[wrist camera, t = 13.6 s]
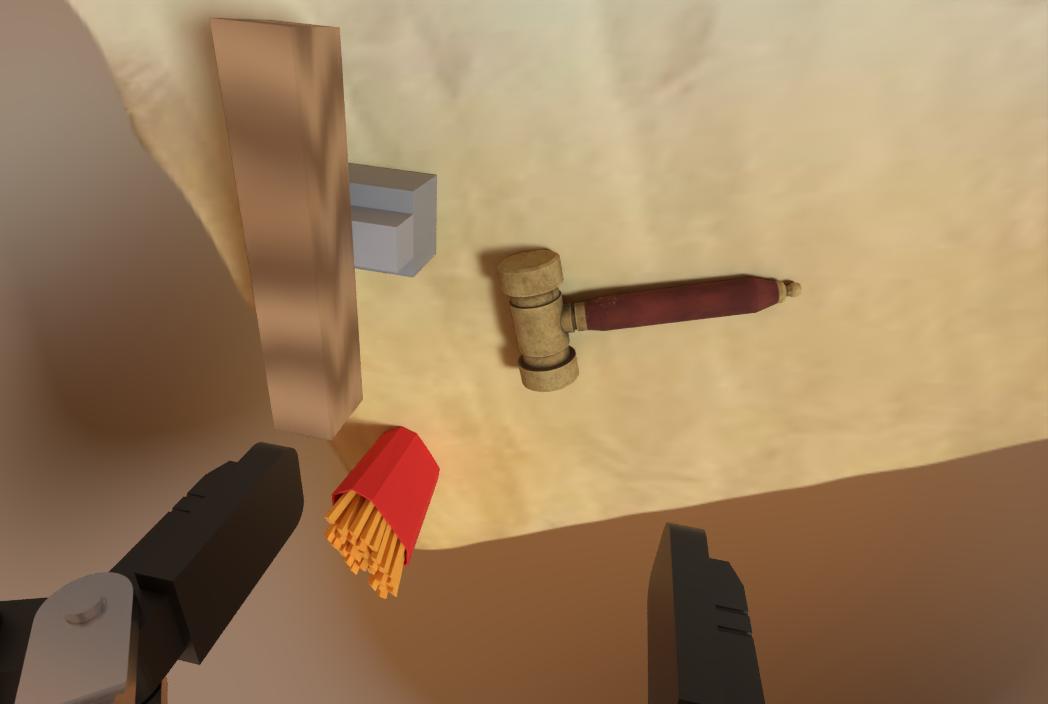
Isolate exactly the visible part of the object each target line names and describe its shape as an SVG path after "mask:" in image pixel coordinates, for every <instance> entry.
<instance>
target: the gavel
mask: <svg viewBox="0 0 1048 704" xmlns="http://www.w3.org/2000/svg"><path fill="white" fill-rule="evenodd" d="M497 269H498V274H499V278H500V283H501V287H502V291H503V293H504V294H506V295H508V296H510V301H509V304H510V309H511V314H512V318H513V323H514V327H515V332H516V337H517V341H518V346H519V350H520V352H521V353H522V355H521V356H520V357H519V359H518V365H519V369H520V374H521V379H522V383H523V385H524V386H525V387H526V388H528V389H530V390H533V391H539V392H550V391H555V390H559V389H562V388H564V387H566V386H568V385H570V384H571V383H573V382H574V381H575V380H576V379H577V377H578V375H579V370H578V364H577V358H576V352H575V350H574V348H573V347H571V346H569V342H570V341H569V334H568V333H570V332H574V331H575V330H576V329H577V330H578V331H584V330H600V331H607V330H615V329H623V328H632V327H640V326H648V325H657V324H665V323H673V322H681V321H690V320H698V319H706V318H715V317H723V316H731V315H740V314H748V313H756V312H759V311H761V310H763V309H765V308H768V307H770V306H772V305H774V304H776V303H782V302H783V301H785V298H786V296H790V297H796V296H799V295H800V294H801V291H802V288H801V285H800V284H799V283H790V284H789V285H785V284H784V283H783V282H782V281H772V280H766V279H761V278H755V277H749V278H741V279H734V280H726V281H718V282H711V283H703V284H695V285H688V286H680V287H673V288H665V289H657V290H650V291H642V292H634V293H627V294H619V295H611V296H604V297H599V298H596V299H592V300H589V301H586V302H579V303H575V305H571V303H569V304H563V299H562V293H561V291H560V290H559V288H558V286H560V285H561V284H562V282H563V274H562V268H561V262H560V256H559V254H558V253H556V252H553V251H550V250H535V251H527V252H521V253H517V254H514V255H512V256H509V257H507V258H506V259H504V260H503V261H502V262H501V263H500V264H499V265H498V267H497Z"/></svg>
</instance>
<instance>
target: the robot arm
mask: <svg viewBox="0 0 1048 704" xmlns="http://www.w3.org/2000/svg"><path fill="white" fill-rule="evenodd" d="M303 505H304V497H303V490H302V483H301V475H300V468H299V461H298V455H297V452H296V450H295V449H293V448H289V447H284V446H279V445H274V444H268V443H263V442H259V443H257V444H255V445H254V446H253V447H252V448H251V449H250V450H249V451H248V452H247V453H246V454H245V455H244V456H243V457H242V458H241V459H240V460H239V461H238V462H233V461H229V462H227V463H225V464H223V465H221V466H220V467H218V468H216V469H215V470H213V471H211V472H210V473H208V474H206V475H205V476H204V477H203V478H202V479H201V480H200V481H199V482H198V483H197V484H196V485H195V486H194V487H193V488H192V489H191V490H190V491H189V492H188V493H187V496H186V497H183V498H182V499H181V500H180V501H179V502H178V503H177V504H176V505H175V506H174V507H173V509H172V512H168V513H167V514H166V515H165V516H164V517H163V518H162V519H161V520H160V521H159V522H158V523H157V524H156V525H155V526H154V527H153V528H152V529H151V530H150V531H149V532H148V533H147V534H146V535H145V536H144V537H143V538H142V539H141V540H140V541H139V542H138V544H136V545H135V546H134V547H133V548H132V549H131V550H130V551H129V552H128V553H127V554H126V555H125V556H124V557H123V558H122V560H120V561H119V562H118V564H116V566H114V567H113V568H112V569H111V570H110V571H109V572H103V573H95V574H90V575H87V576H84V577H81V578H78V579H76V580H74V581H72V582H70V583H68V584H66V585H64V586H63V587H61V588H60V589H58V590H57V591H56V592H54V593H53V594H52V595H51V596H50V597H48V598H36V599H25V600H24V599H23V600H11V601H0V704H168V682H167V677H166V675H167V673H168V672H169V671H170V669H171V668H172V667H173V665H174V664H175V663H176V661H177V660H182V661H186V662H190V663H194V664H198V665H200V664H201V662H202V661H203V659H204V658H205V657H206V655H207V654H208V653H209V651H210V650H211V648H212V647H213V645H214V644H215V643H216V641H217V640H218V638H219V637H220V635H221V634H222V632H223V631H224V630H225V628H226V627H227V625H228V624H229V622H230V621H231V620H232V618H233V617H234V615H235V614H236V613H237V611H238V610H239V608H240V607H241V605H242V604H243V603H244V601H245V600H246V598H247V597H248V595H249V594H250V593H251V591H252V590H253V588H254V587H255V585H256V584H257V583H258V581H259V580H260V578H261V577H262V575H263V574H264V573H265V571H266V570H267V568H268V567H269V565H270V564H271V563H272V561H273V559H274V558H275V557H276V556H277V554H278V553H279V551H280V550H281V548H282V547H283V546H284V544H285V543H286V541H287V540H288V538H289V537H290V536H291V534H292V533H293V531H294V530H295V528H296V526H297V525H298V523H299V521H300V518H301V515H302V511H303ZM647 603H648V604H647V615H648V616H647V620H648V704H765V700H764V695H763V689H762V684H761V679H760V673H759V668H758V662H757V657H756V651H755V646H754V640H753V638H752V630H751V624H750V618H749V616H748V607H747V602H746V597H745V591H744V586H743V584H742V583H741V581H740V579H739V578H738V576H737V574H736V573H735V571H734V570H733V568H732V566H731V565H730V563H729V562H727V561H722V560H717V559H712V558H709V554H708V546H707V538H706V533H705V531H704V529H699V528H694V527H688V526H683V525H678V524H673V523H666V525H665V527H664V530H663V534H662V537H661V540H660V544H659V547H658V551H657V554H656V558H655V561H654V565H653V568H652V571H651V576H650V581H649V589H648V600H647Z"/></svg>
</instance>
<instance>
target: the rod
mask: <svg viewBox="0 0 1048 704" xmlns="http://www.w3.org/2000/svg"><path fill="white" fill-rule="evenodd" d="M210 24H211V30H212V36H213V43H214V49H215V55H216V62H217V68H218V74H219V80H220V87H221V93H222V99H223V106H224V112H225V118H226V125H227V131H228V137H229V143H230V150H231V156H232V162H233V169H234V175H235V181H236V188H237V194H238V200H239V206H240V213H241V219H242V225H243V232H244V238H245V244H246V250H247V257H248V263H249V269H250V276H251V282H252V288H253V295H254V301H255V307H256V313H257V320H258V326H259V332H260V339H261V345H262V351H263V358H264V364H265V370H266V376H267V383H268V389H269V395H270V401H271V408H272V414H273V420H274V427H275V430H278V431H283V432H289V433H293V434H299V435H304V436H309V437H314V438H320V439H325V440H330V441H331V440H332V439H333V438H334V437H335V435H336V434H337V433H338V431H339V430H340V429H341V427H342V426H343V425H344V423H345V422H346V421H347V419H348V418H349V417H350V416H351V414H352V413H353V412H354V410H355V409H356V408H357V406H358V405H359V404H360V402H361V401H362V400H363V395H362V379H361V363H360V347H359V331H358V315H357V299H356V282H355V266H354V250H353V234H352V218H351V202H350V186H349V170H348V154H347V138H346V122H345V106H344V90H343V74H342V58H341V41H340V28H339V27H330V26H320V25H311V24H301V23H292V22H283V21H273V20H252V19H223V18H210Z"/></svg>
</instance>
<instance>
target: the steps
mask: <svg viewBox="0 0 1048 704" xmlns="http://www.w3.org/2000/svg"><path fill="white" fill-rule="evenodd" d="M348 170H349V186H350V202H351V218H352V234H353V250H354V266H355V268H357V269H363V270H369V271H376V272H382V273H389V274H395V275H402V276H408V277H414V276H415V275H416V274H417V273H418V272H419V271H420V270H421V269H422V268H423V267H424V266H425V265H426V264H427V263H428V262H429V260H430V259H431V258H432V257H433V256H434V255H435V254H436V196H437V175H433V174H425V173H418V172H410V171H403V170H395V169H388V168H380V167H373V166H366V165H358V164H351V163H348Z"/></svg>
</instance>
